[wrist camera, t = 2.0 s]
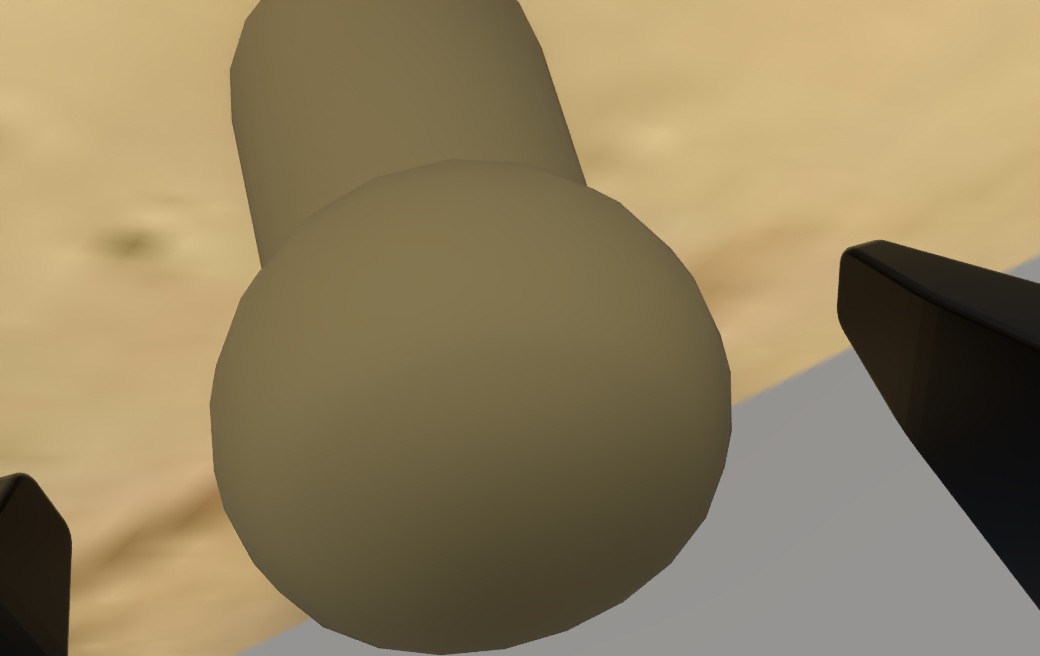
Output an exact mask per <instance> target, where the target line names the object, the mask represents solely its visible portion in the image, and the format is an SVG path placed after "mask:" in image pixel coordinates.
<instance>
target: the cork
mask: <svg viewBox="0 0 1040 656" xmlns="http://www.w3.org/2000/svg"><path fill="white" fill-rule="evenodd" d="M230 85H231V111H232V124H233V129H234V134H235V139H236V144H237V149H238V154H239V159H240V163H241V168H242V173H243V178H244V183H245V188H246V193H247V198H248V203H249V208H250V213H251V218H252V223H253V228H254V233H255V238H256V243H257V248H258V253H259V258H260V263H261V268H262V269H261V270H260V271H259V273H258V274H257V276H256V277H255V278H254V280H253V281H252V283H251V284H250V286H249V287H248V289H247V290H246V292H245V293H244V294H243V296H242V297H241V299H240V302H239V305H238V307H237V310H236V313H235V316H234V318H233V321H232V324H231V326H230V329H229V332H228V335H227V337H226V340H225V343H224V346H223V348H222V351H221V354H220V356H219V359H218V362H217V365H216V369H215V375H214V381H213V387H212V394H211V400H210V416H211V431H212V447H213V462H214V472H215V476H216V480H217V484H218V488H219V492H220V496H221V499H222V503H223V507H224V510H225V512H226V514H227V516H228V518H229V519H230V521H231V523H232V525H233V527H234V529H235V530H236V532H237V534H238V536H239V538H240V540H241V541H242V543H243V545H244V547H245V549H246V550H247V552H248V554H249V556H250V558H251V560H252V561H253V563H254V564H255V565H256V567H257V568H258V569H259V570H260V571H261V572H262V573H263V574H264V575H265V577H266V578H267V579H268V580H269V581H270V582H271V583H272V584H273V585H274V587H275V588H276V589H277V590H278V591H279V592H280V593H281V594H283V595H284V596H285V597H286V598H288V599H289V600H290V601H291V602H293V603H294V604H295V605H296V606H297V607H299V608H300V609H301V610H302V611H304V612H305V613H306V614H307V615H309V616H310V617H311V618H312V619H314V620H315V621H316V622H318V623H319V624H320V625H321V626H322V627H324V628H327V629H330V630H332V631H335V632H338V633H340V634H343V635H346V636H348V637H351V638H353V639H356V640H359V641H361V642H364V643H367V644H369V645H372V646H375V647H378V648H383V649H392V650H401V651H409V652H418V653H427V654H436V655H447V654H456V653H468V652H478V651H489V650H499V649H506V648H510V647H513V646H517V645H520V644H523V643H527V642H530V641H534V640H537V639H541V638H544V637H547V636H550V635H554V634H558V633H561V632H564V631H567V630H569V629H571V628H573V627H575V626H577V625H579V624H581V623H583V622H585V621H587V620H589V619H591V618H592V617H595V616H597V615H599V614H601V613H603V612H604V611H606V610H608V609H610V608H612V607H614V606H616V605H618V604H620V603H622V602H624V601H625V600H626V599H627V598H629V597H630V596H631V595H632V594H633V593H635V592H636V591H637V590H638V589H640V588H641V587H642V586H644V585H645V584H646V583H647V582H648V581H650V580H651V579H652V578H653V577H655V576H656V575H657V574H659V573H660V572H661V571H662V570H663V569H665V568H666V567H667V566H668V565H670V564H671V563H672V561H673V560H674V559H675V557H676V556H677V555H678V553H679V552H680V551H681V549H682V548H683V547H684V546H685V544H686V543H687V542H688V540H689V539H690V538H691V536H692V535H693V534H694V533H695V531H696V530H697V529H698V527H699V526H700V525H701V523H702V522H703V521H704V519H705V518H706V516H707V513H708V511H709V508H710V505H711V502H712V500H713V497H714V494H715V492H716V489H717V486H718V483H719V481H720V478H721V475H722V473H723V470H724V467H725V462H726V457H727V452H728V447H729V442H730V437H731V431H732V426H731V425H732V423H731V372H730V368H729V365H728V361H727V357H726V354H725V350H724V346H723V343H722V339H721V335H720V333H719V331H718V329H717V327H716V324H715V322H714V320H713V318H712V316H711V314H710V311H709V309H708V307H707V305H706V303H705V301H704V299H703V296H702V294H701V292H700V290H699V288H698V286H697V284H696V281H695V279H694V277H693V276H692V275H691V273H690V272H689V271H688V270H687V268H686V267H685V266H684V265H683V263H682V262H681V261H680V259H679V258H678V257H677V256H676V254H675V253H674V252H673V250H672V249H671V248H670V247H669V246H668V245H666V244H665V243H664V242H663V241H662V240H661V239H660V238H659V237H658V236H656V235H655V234H654V233H653V232H652V231H651V230H650V229H649V228H648V227H646V226H645V225H644V224H643V223H642V222H641V221H640V220H639V219H637V218H636V217H635V216H634V215H633V214H632V213H631V212H630V211H629V210H627V209H626V208H625V207H624V206H623V205H622V204H621V203H620V202H618V201H616V200H614V199H612V198H610V197H608V196H606V195H604V194H602V193H600V192H598V191H596V190H594V189H592V188H590V187H587V184H586V181H585V178H584V175H583V172H582V169H581V166H580V163H579V160H578V157H577V154H576V151H575V148H574V145H573V142H572V139H571V136H570V133H569V130H568V127H567V124H566V121H565V118H564V115H563V112H562V108H561V105H560V102H559V99H558V96H557V93H556V90H555V87H554V84H553V81H552V78H551V75H550V72H549V69H548V66H547V63H546V60H545V57H544V54H543V51H542V48H541V46H540V44H539V42H538V40H537V38H536V36H535V34H534V32H533V30H532V28H531V26H530V24H529V22H528V20H527V18H526V16H525V14H524V12H523V10H522V8H521V6H520V4H519V2H518V1H517V0H261V1H260V2H259V3H258V5H257V6H256V7H255V8H254V10H253V11H252V12H251V14H250V15H249V16H248V18H247V19H246V20H245V24H244V27H243V30H242V33H241V36H240V39H239V43H238V46H237V49H236V52H235V55H234V58H233V62H232V65H231V68H230Z"/></svg>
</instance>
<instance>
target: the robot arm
mask: <svg viewBox="0 0 1040 656" xmlns="http://www.w3.org/2000/svg"><path fill="white" fill-rule="evenodd" d="M837 314H838V319H839V322H840V325H841V327H842V329H843V331H844V333H845V335H846V336H847V338H848V340H849V341H850V343H851V345H852V346H853V348H854V350H855V351H856V353H857V355H858V356H859V358H860V360H861V361H862V363H863V365H864V366H865V368H866V370H867V371H868V373H869V375H870V377H871V378H872V380H873V381H874V383H875V385H876V387H877V388H878V390H879V391H880V393H881V395H882V396H883V398H884V400H885V402H886V403H887V405H888V407H889V409H890V410H891V412H892V413H893V415H894V417H895V418H896V420H897V421H898V423H899V424H900V426H901V428H902V429H903V431H904V432H905V434H906V435H907V436H908V438H909V439H910V441H911V442H912V443H913V444H914V446H915V447H916V449H917V450H918V452H919V453H920V454H921V455H922V457H923V458H924V459H925V461H926V462H927V463H928V465H929V466H930V467H931V469H932V470H933V471H934V472H935V474H936V475H937V476H938V478H939V479H940V480H941V482H942V483H943V484H944V486H945V487H946V488H947V490H948V491H949V492H950V494H951V495H952V496H953V497H954V499H955V500H956V501H957V503H958V504H959V505H960V507H961V508H962V509H963V510H964V512H965V513H966V514H967V516H968V517H969V518H970V520H971V521H972V522H973V524H974V525H975V526H976V527H977V529H978V530H979V531H980V533H981V534H982V535H983V537H984V538H985V539H986V541H987V542H988V543H989V544H990V546H991V547H992V548H993V550H994V551H995V552H996V554H997V555H998V556H999V557H1000V559H1001V560H1002V562H1003V563H1004V564H1005V565H1006V567H1007V568H1008V569H1009V571H1010V572H1011V573H1012V575H1013V576H1014V577H1015V579H1016V580H1017V581H1018V582H1019V584H1020V585H1021V586H1022V588H1023V589H1024V590H1025V592H1026V593H1027V594H1028V595H1029V597H1030V598H1031V599H1032V601H1033V602H1034V603H1035V605H1036V606H1037V607H1038V609H1039V610H1040V283H1036V282H1032V281H1029V280H1025V279H1022V278H1018V277H1015V276H1011V275H1007V274H1004V273H1000V272H997V271H993V270H989V269H986V268H982V267H979V266H975V265H971V264H968V263H964V262H961V261H957V260H953V259H950V258H946V257H943V256H939V255H935V254H932V253H928V252H925V251H921V250H917V249H914V248H910V247H907V246H903V245H899V244H896V243H892V242H889V241H885V240H874V241H870V242H866V243H863V244H859V245H855V246H852V247H849V248H847V249H846V250H845V251H844V252H843V254H842V256H841V260H840V269H839V284H838V299H837ZM71 558H72V540H71V534H70V531H69V528H68V526H67V524H66V522H65V520H64V519H63V517H62V516H61V515H60V513H59V512H58V511H57V509H56V508H55V507H54V505H53V504H52V502H51V501H50V500H49V498H48V497H47V496H46V494H45V493H44V492H43V490H42V489H41V487H40V486H39V485H38V483H37V482H36V481H35V480H34V479H33V478H32V477H31V476H29V475H28V474H25V473H15V474H11V475H7V476H4V477H0V656H68V637H69V610H70V584H71Z"/></svg>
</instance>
